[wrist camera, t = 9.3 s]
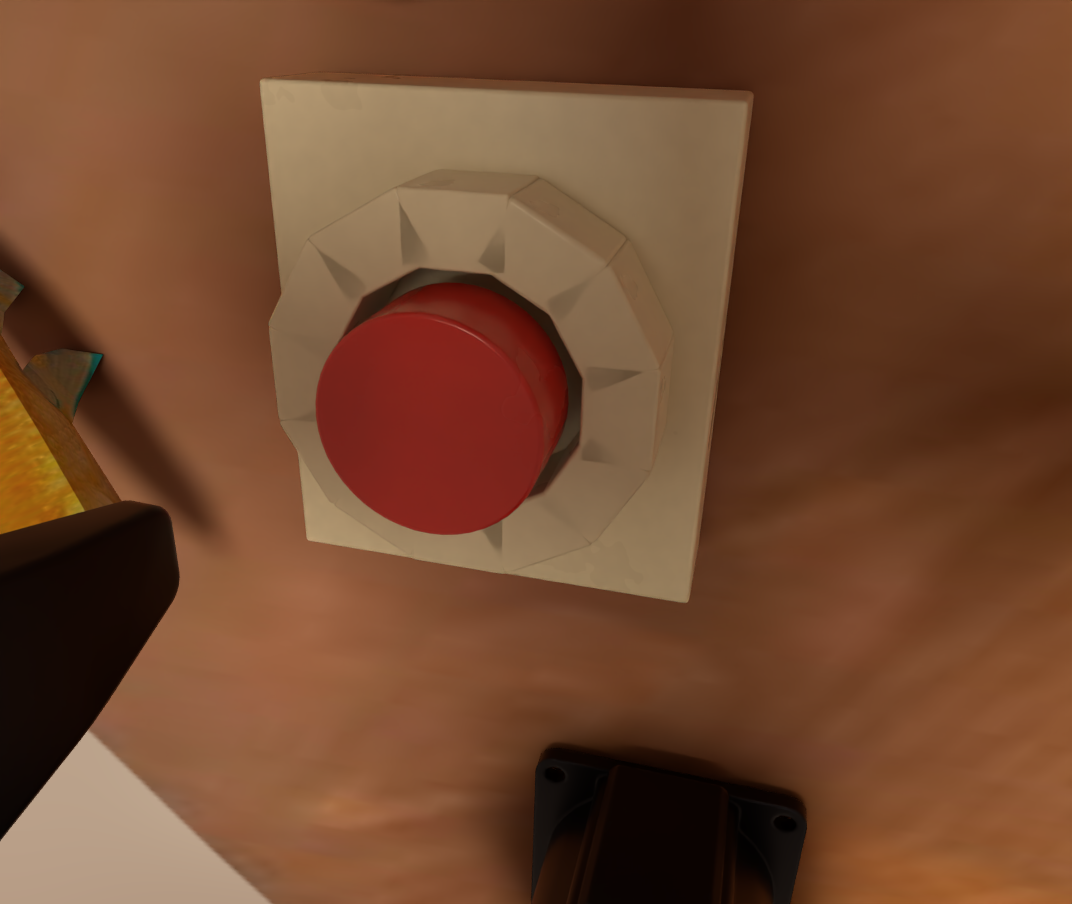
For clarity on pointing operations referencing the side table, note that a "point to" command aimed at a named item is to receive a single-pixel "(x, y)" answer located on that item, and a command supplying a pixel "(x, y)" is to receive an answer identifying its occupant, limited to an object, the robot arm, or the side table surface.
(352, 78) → the block
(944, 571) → the side table surface
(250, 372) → the side table surface
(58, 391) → the fish
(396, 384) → the button
